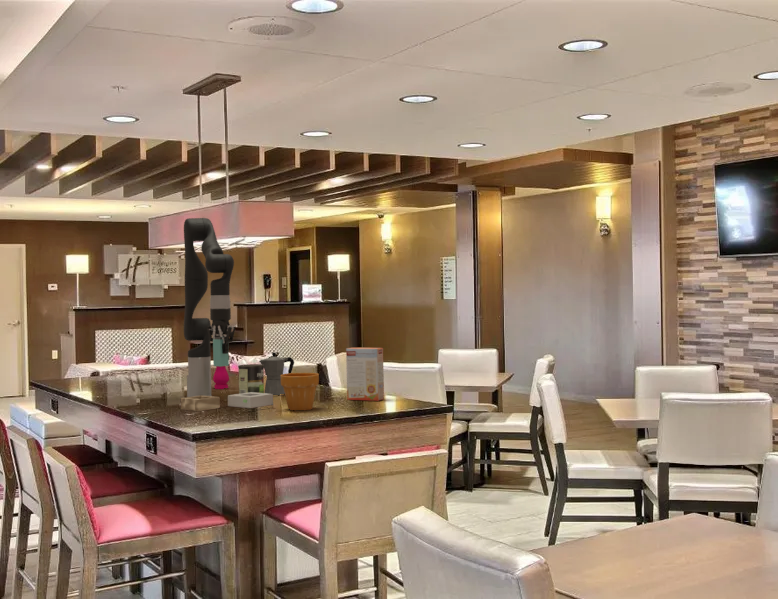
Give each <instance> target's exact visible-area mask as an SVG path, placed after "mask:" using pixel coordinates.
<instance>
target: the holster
mask: <svg viewBox="0 0 778 599" xmlns="http://www.w3.org/2000/svg"><path fill="white" fill-rule="evenodd" d="M220 401H221V398H220V396H213V395H211V396H203V395H201V396H193V397H187V396H186V397H180V410H186V411H194V412H195V411H196V412H201V411H208V410H215V409H220V407H221V402H220Z"/></svg>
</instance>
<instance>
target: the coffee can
mask: <svg viewBox="0 0 778 599" xmlns="http://www.w3.org/2000/svg"><path fill="white" fill-rule="evenodd" d="M263 367H264V365H262V364H261V363H260V364H258V363H254V364H252V363H251V364H239V365H238V366H237V368H238V394H241V393H248V392H255V393H264V392H265V384H264V382H265V381H264V379H265V378H264V372H265V369H264V368H263Z"/></svg>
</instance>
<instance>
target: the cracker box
mask: <svg viewBox="0 0 778 599" xmlns="http://www.w3.org/2000/svg"><path fill="white" fill-rule="evenodd" d="M345 351H346V354H345V355H346V358H345V359H346V360H345V361H346V362H345V363H346V399H347V401H367V402H368V401H370V402H378V401H379V402H380V401H383V400H384V399H385V386H384V384H385V381H384V378H385V377H384V375H385V373H384V348H383V347H346V348H345Z"/></svg>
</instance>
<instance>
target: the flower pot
mask: <svg viewBox="0 0 778 599" xmlns="http://www.w3.org/2000/svg"><path fill="white" fill-rule="evenodd" d="M319 375H320V374H319V373H318V372H317V373H316V372H291V373H288V372H287V373H283V374H282V375H281V385H282V386H283V388H284V392H285V395H284V396H285V400H286V404H287V408H288V410H289V409H290V410H289V411H293V410H304V411H310V410H312V409H313V406H314V401H315V396H316V391H317V386H318V385H319V383H320V382H319V381H320V376H319Z"/></svg>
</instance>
